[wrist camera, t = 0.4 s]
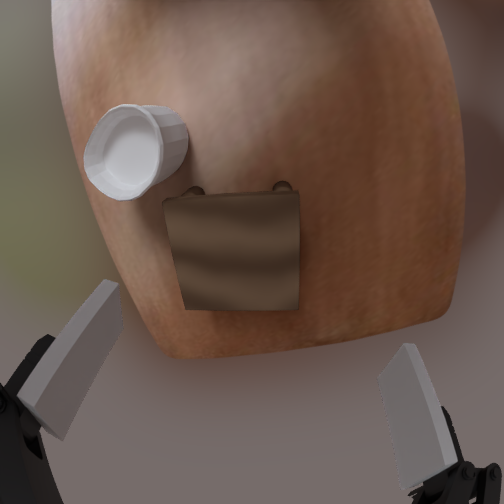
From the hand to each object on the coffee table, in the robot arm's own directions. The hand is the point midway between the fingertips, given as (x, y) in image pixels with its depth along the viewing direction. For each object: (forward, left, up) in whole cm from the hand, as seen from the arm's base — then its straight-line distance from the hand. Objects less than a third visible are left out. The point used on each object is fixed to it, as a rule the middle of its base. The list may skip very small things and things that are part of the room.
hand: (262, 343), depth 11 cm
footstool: (+6, -4, -25) cm, 26 cm away
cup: (-7, -14, -26) cm, 30 cm away
